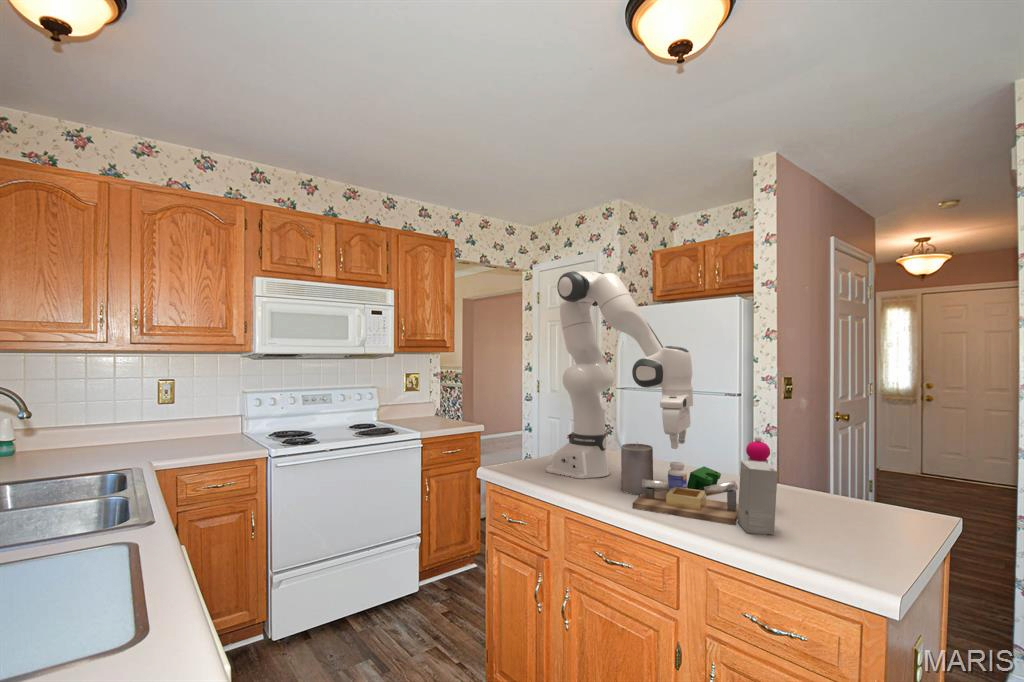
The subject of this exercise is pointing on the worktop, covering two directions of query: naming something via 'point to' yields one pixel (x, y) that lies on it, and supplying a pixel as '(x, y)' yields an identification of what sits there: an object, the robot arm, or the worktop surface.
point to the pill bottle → (677, 475)
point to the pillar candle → (636, 467)
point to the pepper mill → (758, 450)
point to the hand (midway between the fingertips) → (678, 445)
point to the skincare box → (757, 497)
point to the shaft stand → (690, 501)
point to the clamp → (703, 478)
